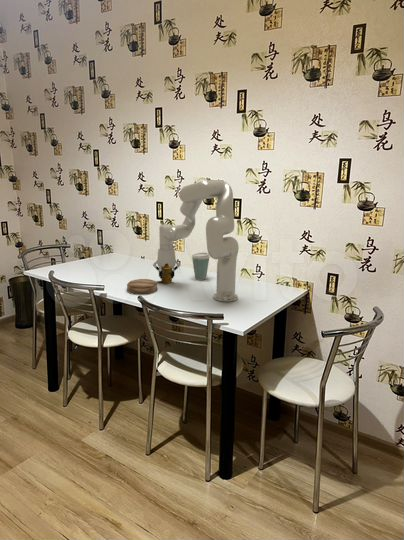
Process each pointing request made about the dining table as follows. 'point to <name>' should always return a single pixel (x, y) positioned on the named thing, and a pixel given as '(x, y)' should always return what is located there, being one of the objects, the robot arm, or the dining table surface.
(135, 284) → the walnut stand
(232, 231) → the robot arm
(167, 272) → the condiment
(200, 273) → the disposable coffee cup
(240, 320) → the dining table surface
